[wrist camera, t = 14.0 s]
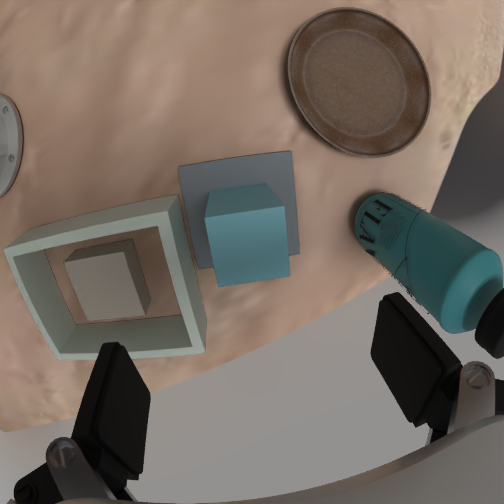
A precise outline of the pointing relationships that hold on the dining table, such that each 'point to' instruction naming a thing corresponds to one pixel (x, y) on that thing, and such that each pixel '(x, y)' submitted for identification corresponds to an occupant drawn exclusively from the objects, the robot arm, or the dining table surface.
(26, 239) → the frame
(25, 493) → the robot arm
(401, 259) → the beverage bottle
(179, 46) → the dining table surface
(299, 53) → the saucer
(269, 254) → the block
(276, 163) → the mat
